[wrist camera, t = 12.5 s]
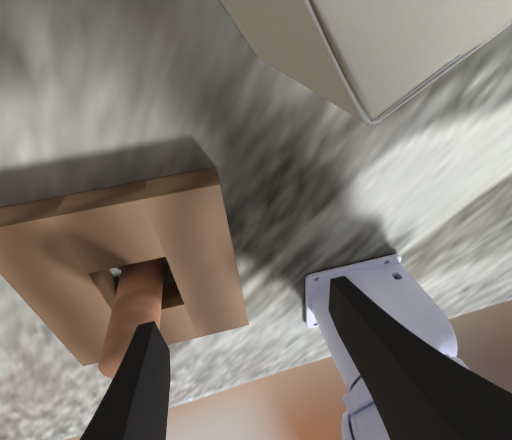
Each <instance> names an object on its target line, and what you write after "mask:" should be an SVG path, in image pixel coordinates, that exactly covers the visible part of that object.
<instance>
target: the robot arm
mask: <svg viewBox="0 0 512 440" xmlns="http://www.w3.org/2000/svg"><path fill="white" fill-rule="evenodd" d="M400 261H401V257H400V255H399V254H393V255H389V256H385V257H381V258H377V259H372V260H368V261H364V262H360V263H355V264H351V265H347V266H343V267H338V268H334V269H330V270H326V271H321V272H317V273H313V274H309V275H307V276H306V278H305V300H306V326H307V328H313V327H317V326H319V328H320V330H321V332H322V334H323V337H324V339H325V341H326V343H327V346H328V348H329V350H330V352H331V355H332V357H333V359H334V361H335V364H336V366H337V368H338V370H339V372H340V375H341V377H342V379H343V382H344V384H345V386H346V388H347V390H348V394H346V395H345V396H344V397H343V401H344V403H345V405H346V408H347V410H348V411H346V412H345V413H344V414H343V417H342V440H512V393H510V392H508V391H506V390H504V389H503V388H501V387H499V386H497V385H495V384H493V383H491V382H490V381H488V380H486V379H484V378H482V377H481V376H479V375H477V374H476V373H474V372H472V371H470V369H469V368H468V367H467V366H466V365H465V364H464V362H463V361H462V360H461V359H459V358H456V355H457V340H456V336H455V333H454V331H453V328H452V326H451V324H450V322H449V320H448V319H447V317H446V315H445V314H444V313H443V311H442V310H441V309H440V308H439V306H438V305H437V304H436V303H435V302H434V301H433V300H432V299H431V297H430V296H429V295H428V294H427V293H426V292H425V291H424V290H423V289H422V287H421V286H420V285H419V284H418V283H417V282H416V281H415V280H414V279H413V277H412V276H411V275H410V274H409V273H408V272H407V271H406V270H405V269H404V267H403V266H402V265H401V264H400ZM169 389H170V351H169V348H168V346H167V344H166V342H165V340H164V338H163V337H162V335H161V333H160V331H159V329H158V327H157V325H156V323H155V321H152V322H148V323H144V324H140V325H138V326H137V327H136V330H135V332H134V334H133V337H132V339H131V341H130V344H129V346H128V348H127V351H126V353H125V355H124V357H123V359H122V361H121V364H120V366H119V368H118V370H117V372H116V374H115V376H114V378H113V380H112V382H111V384H110V386H109V388H108V390H107V392H106V394H105V396H104V398H103V399H102V401H101V403H100V405H99V407H98V409H97V410H96V412H95V414H94V416H93V418H92V420H91V421H90V423H89V425H88V427H87V428H86V430H85V432H84V433H83V435H82V437H81V438H80V440H166V427H167V415H168V402H169Z"/></svg>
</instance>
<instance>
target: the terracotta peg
mask: <svg viewBox="0 0 512 440" xmlns="http://www.w3.org/2000/svg"><path fill="white" fill-rule="evenodd" d="M163 277H164V262H163V260H162V259H161V258H157V259H152V260H147V261H143V262H138V263H134V264H129V265H124V266H123V267H122V271H121V275H120V279H119V283H118V287H117V291H116V295H115V300H114V304H113V308H112V312H111V316H110V320H109V324H108V328H107V332H106V336H105V340H104V344H103V348H102V352H101V356H100V360H99V365H98V367H99V370H100V372H101V373H102V374H103V375H105V376H107V377H109V378H114V376H115V374H116V372H117V370H118V368H119V366H120V364H121V361H122V359H123V357H124V355H125V353H126V351H127V348H128V346H129V344H130V341H131V339H132V337H133V334H134V332H135V330H136V327H137V326H138V325H140V324H144V323H148V322H152V321H155V323H156V325H157V327H158V329H159V330H160V316H161V303H162V290H163Z"/></svg>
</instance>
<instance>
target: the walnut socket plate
mask: <svg viewBox="0 0 512 440" xmlns="http://www.w3.org/2000/svg"><path fill="white" fill-rule="evenodd" d="M161 257H166V259H167V261H168V264H169V266H170V269H171V272H172V274H173V277H174V279H175V282H176V283H172V284H168V285H163V290H162V303H161V316H160V330H159V331H160V333H161V335H162V337H163V338H164V340H165V342H166V344H167V345H170V344H174V343H178V342H182V341H186V340H190V339H194V338H198V337H202V336H206V335H210V334H214V333H218V332H222V331H226V330H230V329H234V328H238V327H242V326H246V325H249V323H248V319H247V314H246V309H245V304H244V299H243V294H242V289H241V284H240V280H239V275H238V270H237V265H236V260H235V255H234V250H233V245H232V241H231V236H230V231H229V226H228V221H227V216H226V211H225V206H224V202H223V197H222V192H221V187H220V182H219V178H218V173H217V169H216V167H215V168H209V169H204V170H199V171H193V172H188V173H183V174H177V175H172V176H167V177H161V178H156V179H151V180H145V181H140V182H135V183H129V184H124V185H119V186H113V187H108V188H103V189H97V190H92V191H87V192H81V193H76V194H71V195H65V196H60V197H55V198H49V199H44V200H39V201H33V202H28V203H23V204H17V205H12V206H7V207H2V208H0V274H1V275H2V276H3V277H4V278H5V279H6V281H7V282H8V283H9V284H10V285H11V286H12V287H13V288H14V290H15V291H16V292H17V293H18V294H19V295H20V296H21V297H22V298H23V300H24V301H25V302H26V303H27V304H28V305H29V306H30V307H31V309H32V310H33V311H34V312H35V313H36V314H37V315H38V316H39V317H40V319H41V320H42V321H43V322H44V323H45V324H46V325H47V326H48V327H49V329H50V330H51V331H52V332H53V333H54V334H55V335H56V336H57V338H58V339H59V340H60V341H61V342H62V343H63V344H64V345H65V346H66V348H67V349H68V350H69V351H70V352H71V353H72V354H73V355H74V356H75V358H76V359H77V360H78V361H79V362H80V363H81V364H82V365H83V366H86V365H90V364H94V363H98V362H99V360H100V356H101V352H102V348H103V344H104V340H105V336H106V332H107V328H108V324H109V320H110V316H111V312H112V308H113V304H114V300H115V295H116V291H117V287H118V284H117V282H116V281H115V279H114V277H113V275H112V274H111V272H110V270H109V269H111V268H115V267H120V266H124V265H129V264H134V263H138V262H143V261H147V260H152V259H157V258H161Z"/></svg>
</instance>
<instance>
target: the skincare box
mask: <svg viewBox="0 0 512 440" xmlns="http://www.w3.org/2000/svg"><path fill="white" fill-rule="evenodd" d="M220 1H221V3H222V4H223V6H224V7H225V9H226V11H227V12H228V14H229V15H230V17H231V18H232V20H233V21H234V23H235V24H236V26H237V28H238V29H239V31H240V32H241V34H242V35H243V37H244V38H245V40H246V41H247V43H248V44H249V46H250V47H251V49H252V50H253V51H254V53H255V54H256V56H257V57H258V58H259V59H261V60H263V61H264V62H266V63H268V64H269V65H271V66H273V67H274V68H276V69H277V70H279V71H281V72H283V73H284V74H286V75H287V76H289V77H291V78H292V79H294V80H296V81H297V82H299V83H301V84H302V85H304V86H306V87H307V88H309V89H311V90H312V91H314V92H315V93H317V94H319V95H320V96H322V97H324V98H325V99H327V100H329V101H330V102H332V103H333V104H335V105H337V106H338V107H340V108H342V109H343V110H345V111H346V112H348V113H350V114H351V115H353V116H354V117H356V118H357V119H359V120H360V121H362V122H364V123H366V124H367V125H375V124H377V123H379V122H380V121H382V120H383V119H384V118H386V117H387V116H388V115H390V114H391V113H392V112H394V111H395V110H396V109H397V108H399V107H400V106H401V105H403V104H404V103H406V102H407V101H408V100H410V99H411V98H412V97H414V96H415V95H417V94H418V93H419V92H421V91H422V90H423V89H424V88H426V87H427V86H428V85H429V84H431V83H432V82H434V81H436V80H437V79H438V78H439V77H441V76H442V75H443V74H444V73H446V72H447V71H449V70H450V69H451V68H453V67H454V66H455V65H456V64H458V63H459V62H460V61H462V60H463V59H464V58H466V57H467V56H469V55H470V54H472V53H473V52H474V51H476V50H477V49H478V48H480V47H481V46H482V45H484V44H485V43H486V42H488V41H489V40H490V39H492V38H493V37H494V36H496V35H497V34H498V33H500V32H501V31H502V30H503V29H505V28H506V27H507V26H509V25H510V24H511V23H512V0H220Z"/></svg>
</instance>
